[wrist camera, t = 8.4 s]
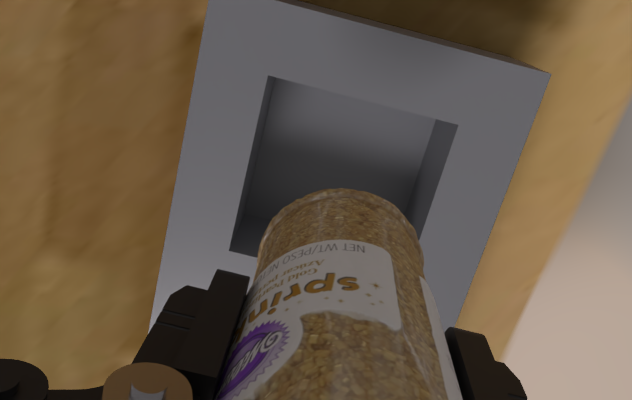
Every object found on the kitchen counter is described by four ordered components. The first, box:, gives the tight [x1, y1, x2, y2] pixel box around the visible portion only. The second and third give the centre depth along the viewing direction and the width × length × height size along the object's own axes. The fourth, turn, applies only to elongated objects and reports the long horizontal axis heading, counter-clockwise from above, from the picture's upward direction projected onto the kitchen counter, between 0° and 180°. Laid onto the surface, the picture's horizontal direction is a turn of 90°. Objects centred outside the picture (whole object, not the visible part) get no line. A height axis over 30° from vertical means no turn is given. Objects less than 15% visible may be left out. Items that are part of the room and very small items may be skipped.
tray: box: [148, 0, 551, 334], centre depth 25 cm, size 12×22×8 cm, turn 166°
